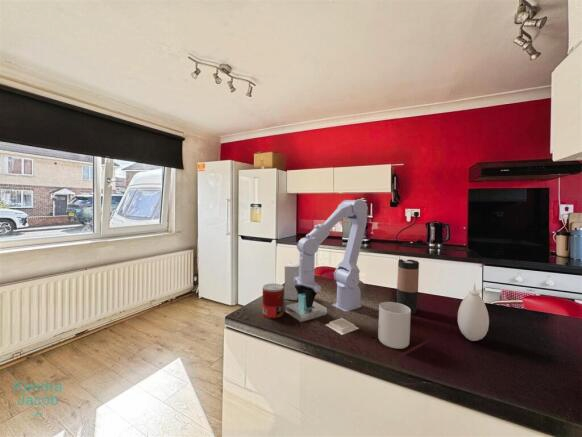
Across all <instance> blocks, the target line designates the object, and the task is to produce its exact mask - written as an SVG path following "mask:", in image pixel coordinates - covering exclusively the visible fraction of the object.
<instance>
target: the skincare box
mask: <svg viewBox="0 0 582 437" xmlns="http://www.w3.org/2000/svg"><path fill="white" fill-rule="evenodd" d="M297 276H298V277H299V263H298V262H289V263H288V264H286V265H285V266H284V300H289V301H298V299H299V296H298V292H297V290H296V288H295V285H297V282H294V277H297Z"/></svg>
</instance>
